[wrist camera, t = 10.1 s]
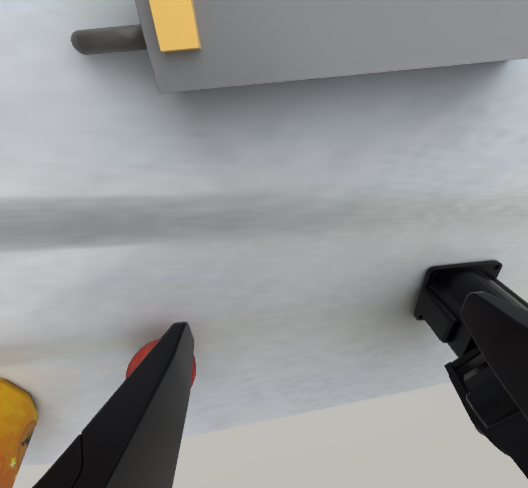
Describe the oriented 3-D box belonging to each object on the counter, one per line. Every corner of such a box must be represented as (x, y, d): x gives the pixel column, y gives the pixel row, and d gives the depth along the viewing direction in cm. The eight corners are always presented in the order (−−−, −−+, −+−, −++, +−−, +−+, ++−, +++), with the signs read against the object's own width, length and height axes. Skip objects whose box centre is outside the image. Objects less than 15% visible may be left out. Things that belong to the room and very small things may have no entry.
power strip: (551, -64, 13) (680, -127, 9) (510, 59, 16) (596, 52, 12) (60, -19, 13) (-20, -62, 9) (101, 98, 16) (54, 103, 12)
